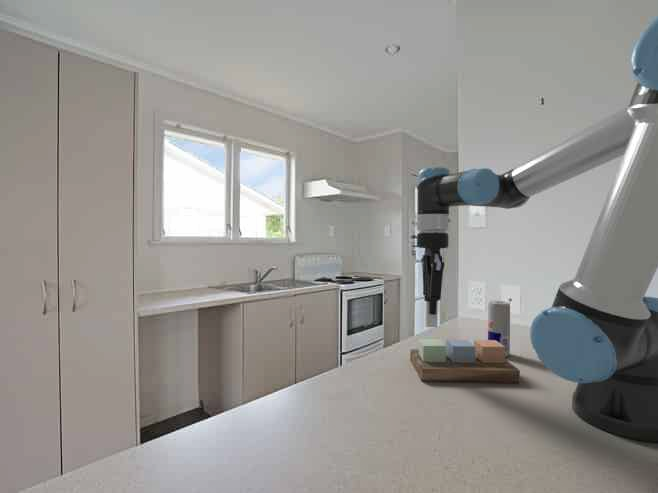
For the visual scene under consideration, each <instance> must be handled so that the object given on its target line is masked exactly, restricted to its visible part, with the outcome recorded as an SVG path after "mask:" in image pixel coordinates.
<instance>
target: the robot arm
mask: <svg viewBox="0 0 658 493" xmlns="http://www.w3.org/2000/svg"><path fill="white" fill-rule="evenodd" d="M630 66H631V70H632V71H631V72H632V75H633V77H634V79H635V81H636V82H637V83H636V87H635V89H634V92H633V94H632V96H631V99H630V102H629V104H628V105H626V106H624V107H623V108H621V109H619V110H617V111H616V112H613V113H612V114H610V115H608V116H607V117H605V118H602V119H601V120H599V121H597V122H595V123H593V124H592V125H590V126H588V127H586V128H585V129H582V130H581V131H579V132H577V133H575V134H573V135H572V136H570V137H568V138H566V139H564V140H563V141H561V142H559V143H557V144H555V145H554V146H551V147H550V148H548V149H546V150H544V151H541V153H538V154H537V155H535V156H533V157H532V158H530V159H528V160H526V161H524V162H523V163H521V164H518V165H517V166H515V167H514V168H512V169H510V170H508V171H506V172H504V173H502V174H496V173H494V172H493V170H492V169H490V168H486V167H484V168H471V169H469V170H464V171H459V172H454V173H450V170H449V169H448V168H447V167H438V166H436V167H427V168H423V169H421V170H420V171H419V172H418V175H417V176H418V177H417V178H418V179H417V186H416V190H417V205H416V206H417V208H416V209H417V213H416V231H418V233H417V234H416V247H417V248H419V249H424V253H423V255H422V258H421V260H420V261H421V267H422V271H421V272H422V295H423V296H424V298H423V300H424V302H425V303H424V327H426V328H438V310H439V309H438V308H439V307H438V305H439V303H438V302H439V301H441V299H442V298H441V297H442V287H443V275H444V269H445V262H444V261H443V256H442V255H441V254H442V253H441V249H447V248H448V247H449V234H448V232H447V231H449V223H451V221H452V220H451V219H450V218H449V214H450V207H462V206H463V207H464V206H470V207H471V206H472V207H488V208H489V207H490V208H499V209H500V208H501V209H505V210H506V209H515V208H516V209H517V208H520V207H522V206H525V204H526V203H527V202H528V201H529V199H530V198H531V197H533V196H536V195H537V194H540V193H542V192H544V191H547V190H549V189H552V188H553V187H556V186H558V185H560V184H562V183H564V182H567V181H569V180H571V179H574V178H575V177H576V178H577V177H578V176H580V175H581V174H585V173H586V172H588V171H589V172H590V171H591V170H594V169H595V168H597V167H600V166H602V165H604V164H607V163H609V162H611V161H613V160H615V159H617V158H620V157H621V161H620V163H619V166H618V168H617V171H616V174H615V176H614V177H613V180H612V183H611V186H610V187H609V191H608V193H607V196H606V198H605V201H604V204H603V206H602V209H601V211H600V214H599V217H598V219H597V221H596V224H595V226H594V228H593V232H592V233H591V236H590V238H589V241H588V244H587V247H586V249H585V250H584V251H585V252H584V253H583V256H582V259H581V262H580V263H579V267H578V269H577V272H576V275H575V277H574V278H572V279H569V280H567V281H565V282H562V283H561V284H560V285H559V287H558V290H557V292H556V294H555V297H554V300H553V303H552V304H551V307H549V308H546V309H544V310H542V311H541V312H540V313H538V314H537V315H536V316H535V317H534V319H533V320H532V322H531V325H530V328H529V329H530V330H529V336H530V337H529V338H530V343H531V346H532V349H534V351H535V354H536V356H537V358H538V359H539V361H540V362H541V363H542V365H544V366H545V367H546V368H547V369H548V370H549V371H550V372H552V373H553V374H555V375H556V376H558V377H559V378H562V379H563V380H566V381H569V382H572V383H577V384H576V387H575V390H574V391H573V393H572V397H571V398H572V399H571V408H572V410H573V412H574V413H575V414H576V415H577V416H578V417H579V418H581V419H582V420H583V421H585V422H587V423H589V424H590V425H592V426H594V427H596V428H599V429H601V430H604V431H607V432H609V433H612V434H615V435H617V436H621V437H625V438H628V439H633V440H638V441H643V442H650V443H651V442H652V443H658V297H653V296H646V293H647V291H648V289H649V287H650V285H651V283H652V280H653V278H654V276H655V274H656V272H657V270H658V16H656V17H655V18H654V19H653V20H652V21H651V22H650V23H649V24H648V26H646V28H645V29H644V30H643V32H642V33H641V34H640V36H639V38H638V40H637V41H636V43H635V44H634V48H633V50H632V52H631V58H630ZM446 232H447V233H446Z"/></svg>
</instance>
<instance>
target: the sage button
mask: <svg viewBox="0 0 658 493" xmlns="http://www.w3.org/2000/svg"><path fill="white" fill-rule="evenodd" d="M418 349H419V356H420V358H421V359H422V361H423V362H446V343H444V342H443V340H441V339H439V338H438V339H434V338H432V339H428V338H422V339H421V338H419V339H418Z"/></svg>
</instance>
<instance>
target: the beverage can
mask: <svg viewBox="0 0 658 493" xmlns="http://www.w3.org/2000/svg"><path fill="white" fill-rule="evenodd" d="M487 304H488V305H487V306H488V307H487V313H488V314H487V315H488V316H487V340H496V341H497V342H499V343H500V344H502V345H503V346H505V357H509V356H510V352H511V351H510V350H511V348H510V346H511V344H510V343H511V305H510V302H509V301H504V300H489V301H488V303H487Z"/></svg>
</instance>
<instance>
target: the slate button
mask: <svg viewBox="0 0 658 493" xmlns="http://www.w3.org/2000/svg"><path fill="white" fill-rule="evenodd" d="M445 345H446V355H447V357H448V358H449V359H450V360H451V361H452V362H453V363H475V351H476V346H474V343H472V342H471V341H469V339H446V340H445Z"/></svg>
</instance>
